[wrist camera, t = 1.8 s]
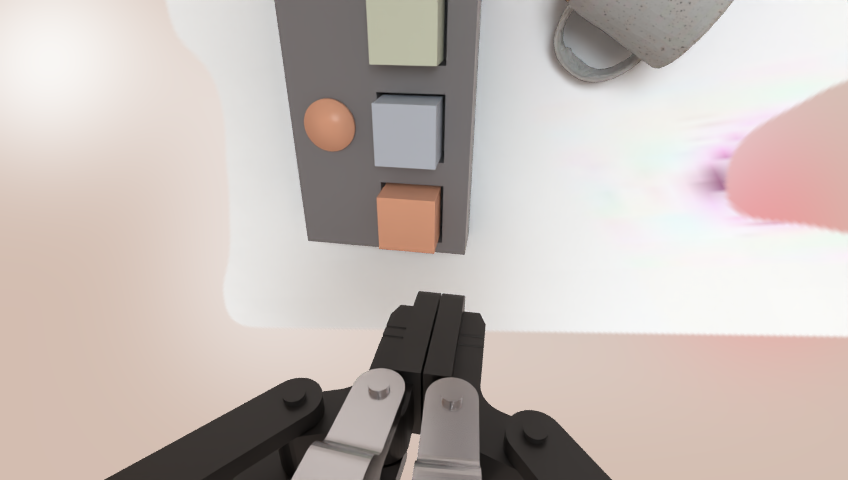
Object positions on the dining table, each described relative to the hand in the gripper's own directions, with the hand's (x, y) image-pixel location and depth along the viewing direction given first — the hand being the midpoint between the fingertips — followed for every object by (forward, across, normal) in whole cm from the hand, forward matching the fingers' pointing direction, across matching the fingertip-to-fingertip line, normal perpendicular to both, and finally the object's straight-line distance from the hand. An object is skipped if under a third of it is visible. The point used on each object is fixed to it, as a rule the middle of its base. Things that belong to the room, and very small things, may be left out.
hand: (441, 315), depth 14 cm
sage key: (+22, +5, -7) cm, 24 cm away
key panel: (+25, +8, 0) cm, 26 cm away
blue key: (+22, +5, 0) cm, 23 cm away
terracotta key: (+22, +5, +7) cm, 24 cm away
